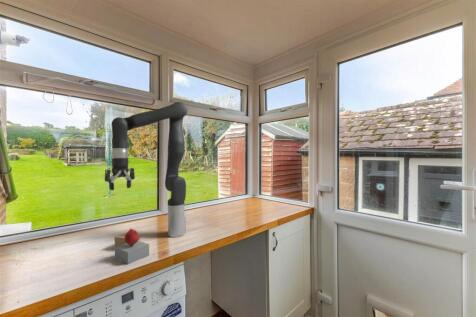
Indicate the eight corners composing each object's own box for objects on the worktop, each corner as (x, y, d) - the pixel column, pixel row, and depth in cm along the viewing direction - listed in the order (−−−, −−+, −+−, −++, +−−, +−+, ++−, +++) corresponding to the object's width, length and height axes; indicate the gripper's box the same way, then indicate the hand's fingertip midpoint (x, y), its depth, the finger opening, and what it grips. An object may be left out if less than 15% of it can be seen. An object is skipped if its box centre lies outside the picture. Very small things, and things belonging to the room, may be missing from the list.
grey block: (135, 250, 106) (135, 239, 106) (149, 255, 100) (149, 244, 100) (114, 258, 97) (114, 247, 97) (128, 264, 92) (127, 252, 92)
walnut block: (126, 243, 114) (126, 232, 114) (137, 245, 112) (137, 233, 112) (114, 249, 108) (114, 236, 108) (126, 250, 106) (126, 238, 106)
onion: (141, 243, 102) (141, 225, 102) (135, 248, 96) (135, 229, 96) (128, 243, 101) (128, 225, 101) (122, 248, 96) (121, 230, 96)
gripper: (129, 157, 122) (129, 186, 122) (101, 157, 110) (102, 190, 110) (137, 157, 118) (137, 187, 118) (109, 157, 106) (110, 191, 106)
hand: (120, 189), depth 114 cm, fingers open, 8 cm apart
